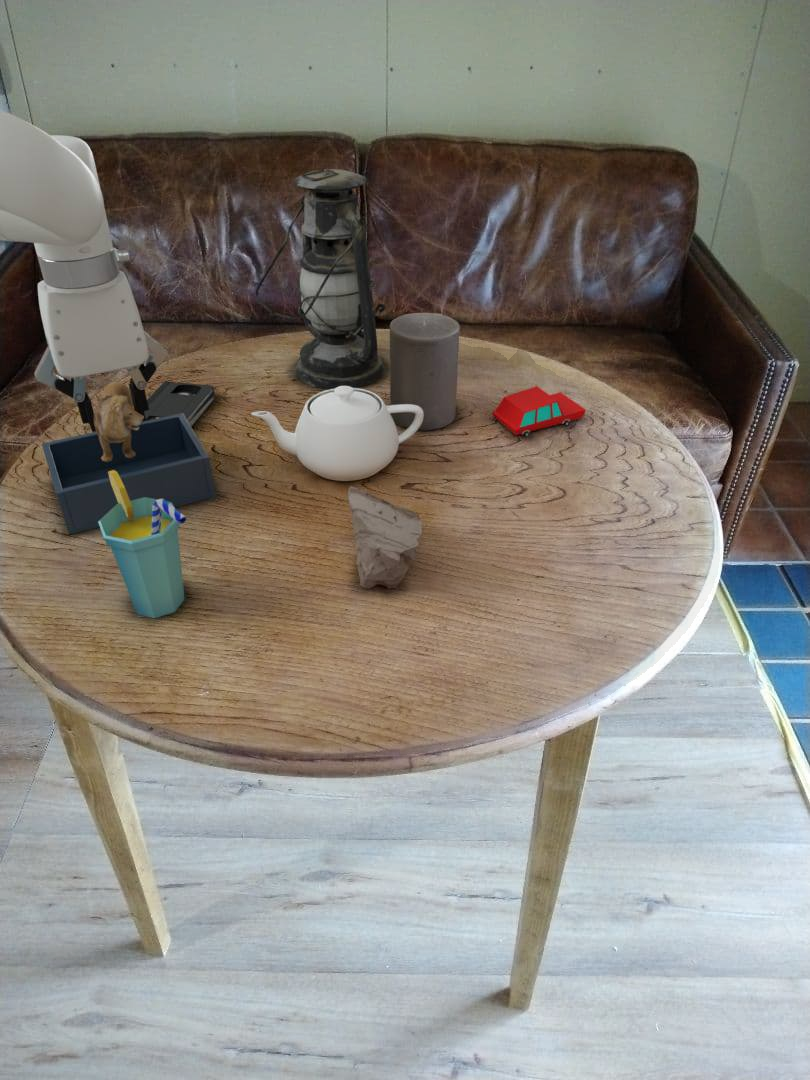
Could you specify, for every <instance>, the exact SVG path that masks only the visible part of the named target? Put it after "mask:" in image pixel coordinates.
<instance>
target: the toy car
mask: <svg viewBox="0 0 810 1080" xmlns="http://www.w3.org/2000/svg"><path fill="white" fill-rule="evenodd" d="M586 411H587V410H586V408H584V407H583V406H581V405H580V404H579V403H577V402H576V401H574V400H572V399H571V398H570V397H568V396H567V395H566V394H564V393H562V392H561V391H560V392H556V393H552V394H549V393H548V392H546V391H544V390H543V389H542V388H541V387H540V386H538V385H534V386H532V387H529V388H527V389H524V390H520V391H517V392H514V393H511V394H509V395H506V396H503V398H502V399H501V400H500V403H498V405H497V407H496V408H495V409H494V410H491V415H492V417H493V418H494V419H495V420H496V421H498V422H499V423H500V424H501V425H503V426H504V427H505V428H507V429H508V431H510V432H511V433H513V434H514V435H515V436H519V435H523V436H524V437H528V436H529V434H530V433H531V432H533V431H537V430H541V429H544V428H545V429H546V428H549V427H552V426H556V425H560V424H562V425H564V426H565V427H567V426H569V424H570V422H572V421H575V420H580V419H582V418H584V416H585V415H586Z"/></svg>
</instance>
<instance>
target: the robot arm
mask: <svg viewBox="0 0 810 1080" xmlns="http://www.w3.org/2000/svg"><path fill="white" fill-rule="evenodd" d="M97 171H98V170H97V167H96V162H95V158H94V155H93V151H92V150H91V147H90V146H89V144H88V143H87V142H86V141H84V140H83V139H81V138H79V137H76V136H73V135H63V134H60V135H58V134H57V135H55V134H53V135H52V134H51V135H50V134H49V133H48V132H46V131H44V130H42V129H41V128H39V127H37V126H36V125H34V124H32V123H30V122H29V121H26V120H24V119H22V118H20V117H18V116H16V115H14V114H12V113H9V112H7V111H4V110H2V109H0V241H4V242H16V243H19V242H21V243H33V245H34V249H35V253H36V257H37V260H38V264H39V268H40V271H41V274H42V279H43V280H41V281H39V282H38V283H37V296H38V298H37V299H38V306H39V311H40V317H41V322H42V327H43V331H44V335H45V339H46V343H47V347H46V349H45V351H44V353H43V355H42V356H41V358H40V360H39V362H38V365H37V366H36V369H35V371H34V378H35V380H36V381H37V382H38V383H41V384H43V385H45V386H48V387H50V388H53V389H56V390H57V391H59V392H60V393H63V394H64V395H67V396H68V397H69V398H72V399H73V400H74V401H75V402H76V404H77V409H78V413H79V416H80V419H81V422H82V424H83V425H84V424H88V425H89V427H90V430H91V433H93V432H96V429H95V425H94V417H93V415H94V413H95V410H94V408H93V404H92V400H91V398H90V396H89V393H88V392H87V391H86V386H87V385H86V382H87V377H88V376H94V375H99V374H100V375H101V374H106V373H110V372H115V371H121V370H126V371H127V373H128V374H129V376H130V379H129V383H128V389H129V391H130V394H131V397H132V401H133V408H134V410H135V411H136V412H138V413H139V414H141V415H143V416H144V419H143V420H142V422H143V421H146V418H145V413H144V411H147V410H149V407H148V402H147V399H148V398H147V394H146V388H147V386H148V383H149V381H150V380H151V378H152V377H153V375H154V374H155V373H156V372H157V368H159V367H160V366H161V365H162V364H163V363H164V362H165V361H166V360H167V359H168V357H169V351H167V348H165V347H164V346H163V345H162V344H161V343H160V342H158V341H157V340H156V339H155V338H153V337H152V336H151V335H150V334H148V332H146V331H145V330H144V326H143V323H142V319H141V315H140V311H139V308H138V305H137V303H136V300H135V296H134V294H133V291H132V288H131V285H130V282H129V280H128V278H127V275H126V274H125V272H124V271H122V270H120V269H121V268H122V266H124V265H125V264H130V263H131V257H130V253H129V251H128V249H123V250H121V249H116V247H114V246H113V245H114V244H113V241H112V237H111V236H112V235H111V231H110V225H109V222H108V218H107V213H106V208H105V203H104V196H103V191H102V189H101V184H100V180H99V175H98V172H97ZM149 353H150V354H149ZM54 369H56V372H57V374H56V373H55V372H53V370H54ZM58 374H59V375H58Z"/></svg>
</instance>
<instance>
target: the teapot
mask: <svg viewBox="0 0 810 1080" xmlns="http://www.w3.org/2000/svg"><path fill="white" fill-rule="evenodd" d="M385 403H386V402H385V401H384V399H382V397H381V396H379V395H378V394H376V393H374V392H373V391H370V390H367V389H363V388H352V387H350V386H339V387H337V388H335V389H330V390H329V389H324V390H323V391H320V392H318V393H316V394H314V395H312V396H311V397H309V399H307V401H306V402H305V403H304V406H303V409H302V411H301V414H300V416H299V418H298V421H297V423H296V425H295V426H296V427H295V430H294V432H291V431H288V430H286V429H284V427H282V425H281V423H280V422H279V420H278V418H277V417H276V416H275V415H274V414H273V413H272V412H270V411H265V410H259V411H253V412H251V416H254V417H256V418H258V419H261V420H262V421H264V422H265V423H266V424H267V426H268V427H269V429H270V431H271V433H272V435H273V437H274V439H275V441H276V443H277V445H278V446H279V447H280V448H281V450H283V451H284V452H286V453H289V454H291V455H296V457H297V459H298V461H299V462H300V463H301V464H302V465H303V466H304V467H305V468H306V469H308V470H309V471H311V472H313V473H315V474H316V475H318V476H320V477H321V478H324V479H327V480H333V481H337V482H338V481H339V482H351V481H359V480H362V479H363V480H364V479H367V478H369V477H371V476H373V475H375V474H377V473H379V472H380V471H381V470H383V469H384V468H385V467H387V466H388V465H389V464H390V463H391V462H392V461H393V460H394V458H395V456H396V455H397V453H398V451H399V445H400V444H402V443H404V442H405V441H407V440H408V439H410V438H411V437H412V436H413V435H414V434H415V433H416V432H418V431H419V430H418V429H419V427H420V426H421V424H422V421H423V417H424V414H423V410H422V409H421V407H419V406H417V405H412V404H400V405H391V404H388V405H387V404H385ZM399 412H413V413H415V419H414V421H413V423H412V424H411V425H410V427H409V428H406V429H405V430H404V431H403V432H401V433H400V434H399V433H398V429H397V424H396V423H395V422H394V421H393V418H392V416H391V414H390V413H399Z"/></svg>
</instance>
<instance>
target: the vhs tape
mask: <svg viewBox="0 0 810 1080" xmlns="http://www.w3.org/2000/svg"><path fill="white" fill-rule="evenodd" d="M215 399H216V394H215V388H214V385H211V384H200V383H188V382H175V381H168V380H165V381H163V382H162V383H161V385H160V386H159V387H158V388H157V389H156V390H155V391H154V392H153V393H151V395H150V396H149V397H148V398H147V402H148V407H149V410H147V411H144V413H145V418H146V421H148V420H153V419H157V418H162V417H167V416H171V415H176V414H180V413H183V414H184V416H185V418H186V419H187V421H188V423H189V424H190V426H191V428H192V427H194V425H195V424H196V422H197V421H198V420H199V419H200V418H201V416H202V415H203V414H204V412H206V410H207V409H208V408H209V407H210V405H211V404H212V403H213V402H214V400H215ZM143 422H144V421H143Z"/></svg>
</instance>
